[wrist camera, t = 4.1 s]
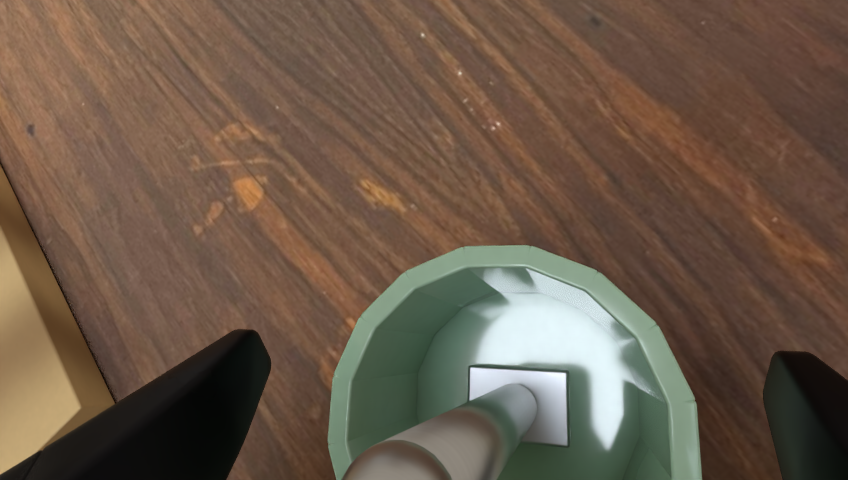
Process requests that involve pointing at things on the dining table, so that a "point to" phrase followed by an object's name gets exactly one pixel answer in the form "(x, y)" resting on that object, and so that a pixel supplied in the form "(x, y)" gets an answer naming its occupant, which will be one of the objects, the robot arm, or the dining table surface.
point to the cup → (519, 364)
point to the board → (38, 347)
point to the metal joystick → (477, 428)
